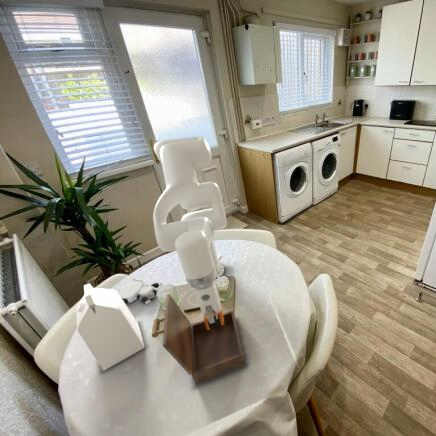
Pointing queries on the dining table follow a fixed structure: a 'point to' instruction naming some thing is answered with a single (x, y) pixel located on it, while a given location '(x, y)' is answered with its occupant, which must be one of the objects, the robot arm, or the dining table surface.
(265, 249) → the dining table surface
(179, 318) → the chest lid
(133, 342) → the milk
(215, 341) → the chest
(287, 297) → the dining table surface
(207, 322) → the orange cube
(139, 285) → the robot toy
